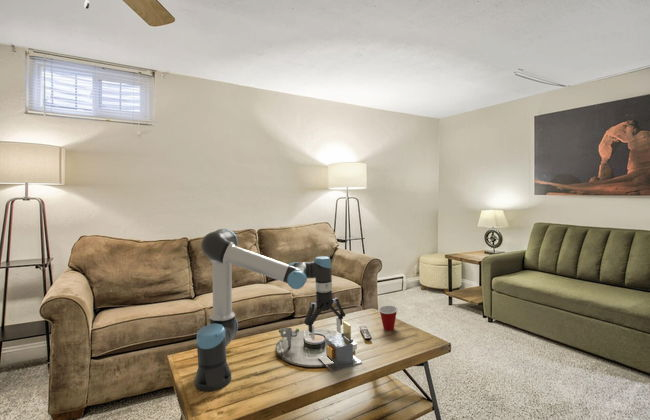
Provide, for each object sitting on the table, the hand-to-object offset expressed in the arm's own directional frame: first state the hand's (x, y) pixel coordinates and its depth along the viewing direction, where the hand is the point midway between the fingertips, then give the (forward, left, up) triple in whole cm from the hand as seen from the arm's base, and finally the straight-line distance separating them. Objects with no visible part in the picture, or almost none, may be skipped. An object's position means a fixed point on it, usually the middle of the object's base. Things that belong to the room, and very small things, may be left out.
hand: (325, 335), depth 158 cm
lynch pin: (+9, 0, -11) cm, 14 cm away
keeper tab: (+12, 0, 0) cm, 12 cm away
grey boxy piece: (+7, 0, -14) cm, 16 cm away
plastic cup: (+49, +18, -14) cm, 54 cm away
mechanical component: (-9, +25, -14) cm, 30 cm away
